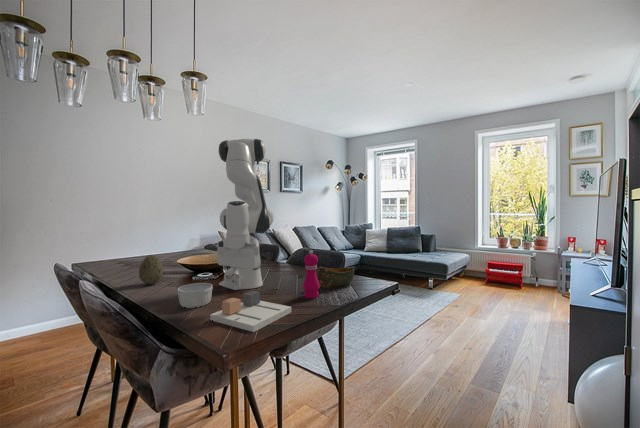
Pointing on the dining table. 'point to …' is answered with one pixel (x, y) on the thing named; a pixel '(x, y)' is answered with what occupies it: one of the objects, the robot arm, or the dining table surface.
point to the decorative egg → (150, 270)
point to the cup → (335, 277)
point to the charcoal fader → (251, 298)
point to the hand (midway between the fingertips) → (238, 278)
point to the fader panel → (252, 315)
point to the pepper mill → (311, 276)
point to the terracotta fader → (231, 306)
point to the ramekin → (195, 294)
